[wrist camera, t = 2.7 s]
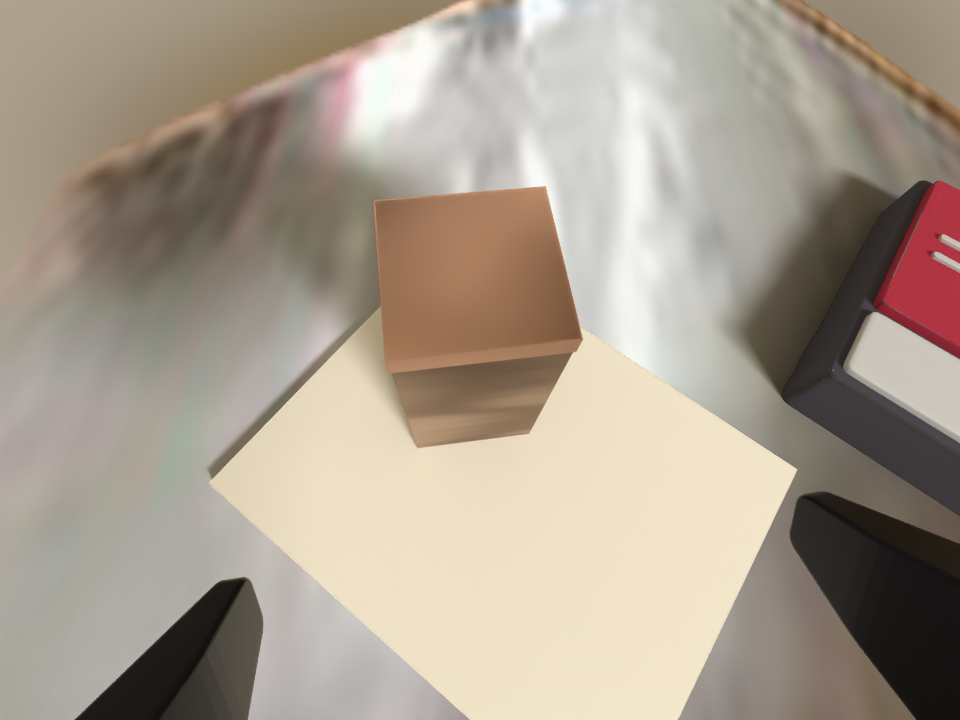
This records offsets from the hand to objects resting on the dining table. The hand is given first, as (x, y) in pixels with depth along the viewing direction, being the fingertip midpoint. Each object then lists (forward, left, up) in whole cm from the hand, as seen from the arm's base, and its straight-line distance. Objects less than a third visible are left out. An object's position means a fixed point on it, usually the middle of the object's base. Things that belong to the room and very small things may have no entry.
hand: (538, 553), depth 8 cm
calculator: (-13, -22, -14) cm, 29 cm away
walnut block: (+5, -5, -13) cm, 15 cm away
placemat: (+1, -3, -13) cm, 14 cm away
